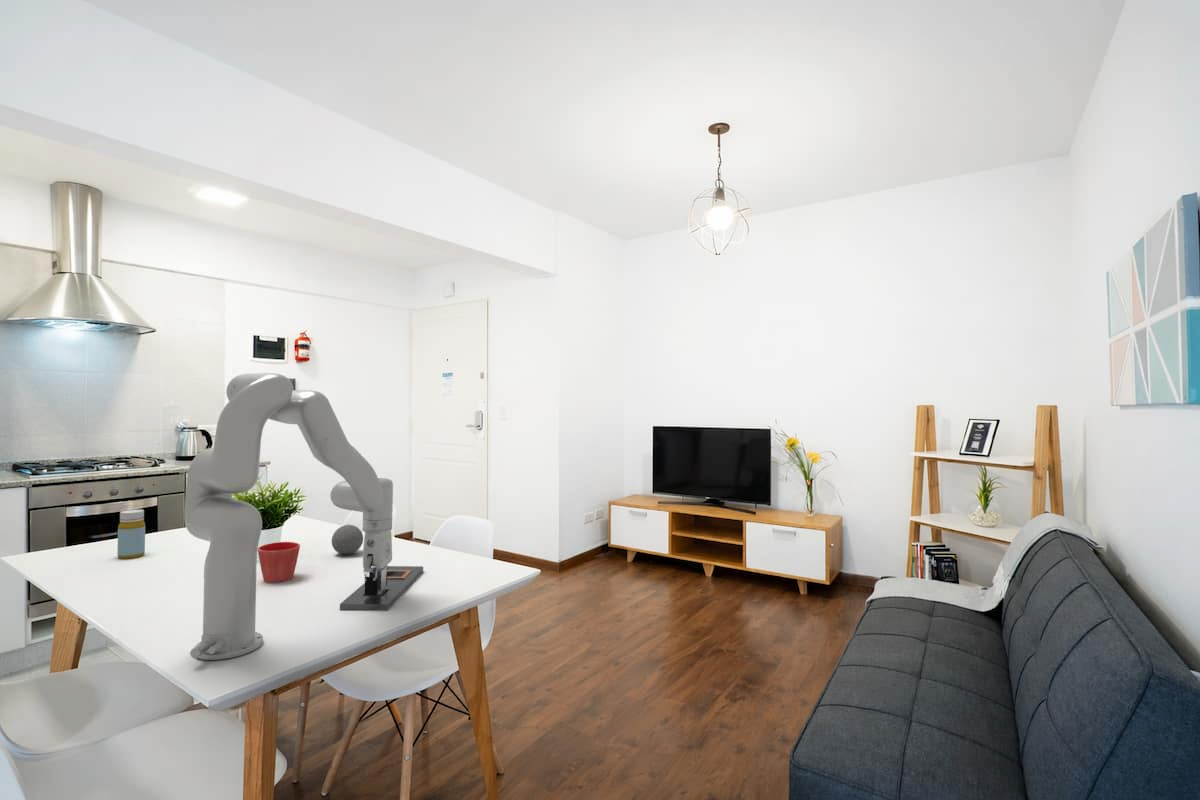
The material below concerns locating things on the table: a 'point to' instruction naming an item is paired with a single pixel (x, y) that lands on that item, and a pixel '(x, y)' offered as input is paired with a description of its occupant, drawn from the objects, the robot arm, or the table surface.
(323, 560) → the table surface
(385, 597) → the grey board with holes
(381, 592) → the steel rectangular block
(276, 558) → the flower pot
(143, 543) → the bottle
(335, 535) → the decorative ball
